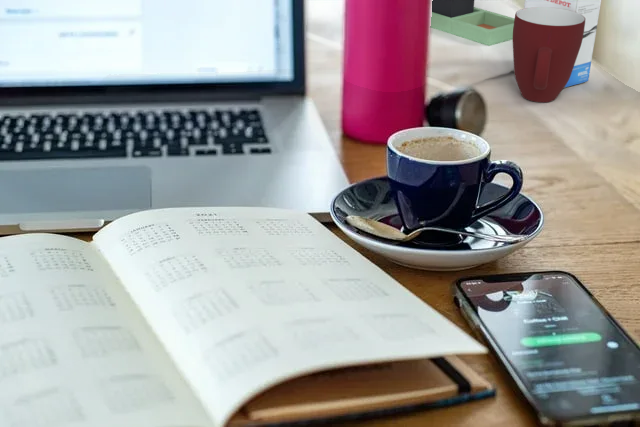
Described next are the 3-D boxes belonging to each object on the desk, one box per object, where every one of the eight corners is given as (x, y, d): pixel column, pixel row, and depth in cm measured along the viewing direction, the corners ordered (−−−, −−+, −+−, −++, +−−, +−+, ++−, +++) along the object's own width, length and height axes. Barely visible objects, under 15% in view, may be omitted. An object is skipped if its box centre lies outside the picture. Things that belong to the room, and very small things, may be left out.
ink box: (590, 82, 112) (605, -11, 107) (563, 89, 110) (578, -6, 104) (540, 63, 119) (552, -25, 113) (514, 70, 116) (525, -20, 111)
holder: (410, 24, 134) (411, 7, 133) (447, 15, 139) (448, -1, 137) (488, 49, 124) (490, 31, 122) (525, 39, 128) (527, 21, 127)
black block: (447, 15, 136) (450, -14, 134) (472, 23, 133) (475, -7, 131) (425, 21, 134) (427, -9, 131) (449, 29, 130) (452, -2, 128)
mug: (579, 119, 101) (593, 34, 97) (507, 114, 102) (518, 30, 97) (568, 87, 110) (581, 8, 106) (503, 83, 111) (513, 5, 107)
